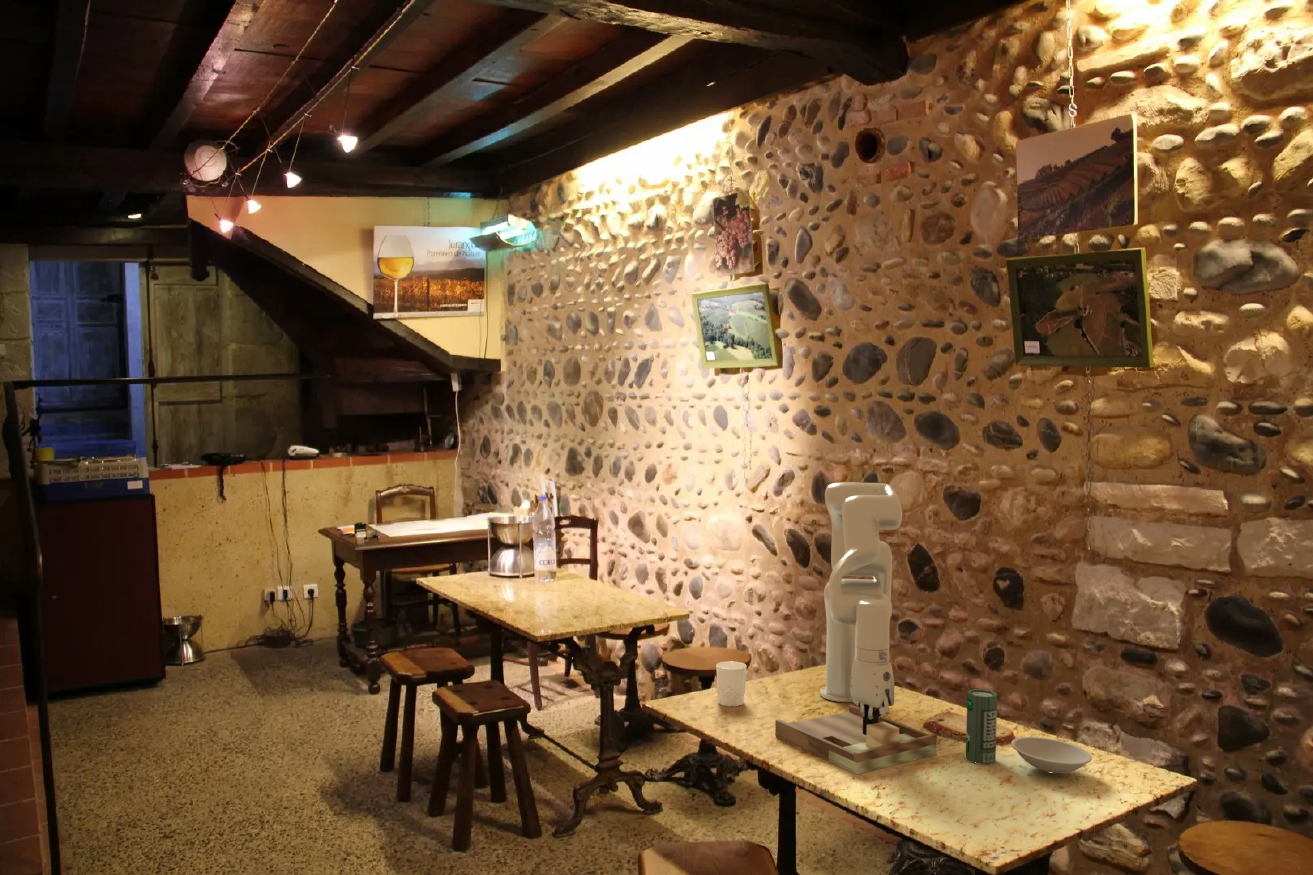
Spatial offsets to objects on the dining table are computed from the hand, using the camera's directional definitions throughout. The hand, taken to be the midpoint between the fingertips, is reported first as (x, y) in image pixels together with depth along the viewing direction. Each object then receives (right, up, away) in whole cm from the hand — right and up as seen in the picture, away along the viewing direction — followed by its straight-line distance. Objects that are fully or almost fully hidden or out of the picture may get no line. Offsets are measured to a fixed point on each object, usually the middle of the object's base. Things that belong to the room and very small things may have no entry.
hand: (870, 734), depth 237 cm
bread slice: (+27, -5, +15) cm, 31 cm away
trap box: (-3, -4, +5) cm, 7 cm away
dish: (+37, -5, -11) cm, 39 cm away
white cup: (-29, -2, +37) cm, 47 cm away
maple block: (+2, -2, -4) cm, 5 cm away
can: (+24, -5, -3) cm, 25 cm away
